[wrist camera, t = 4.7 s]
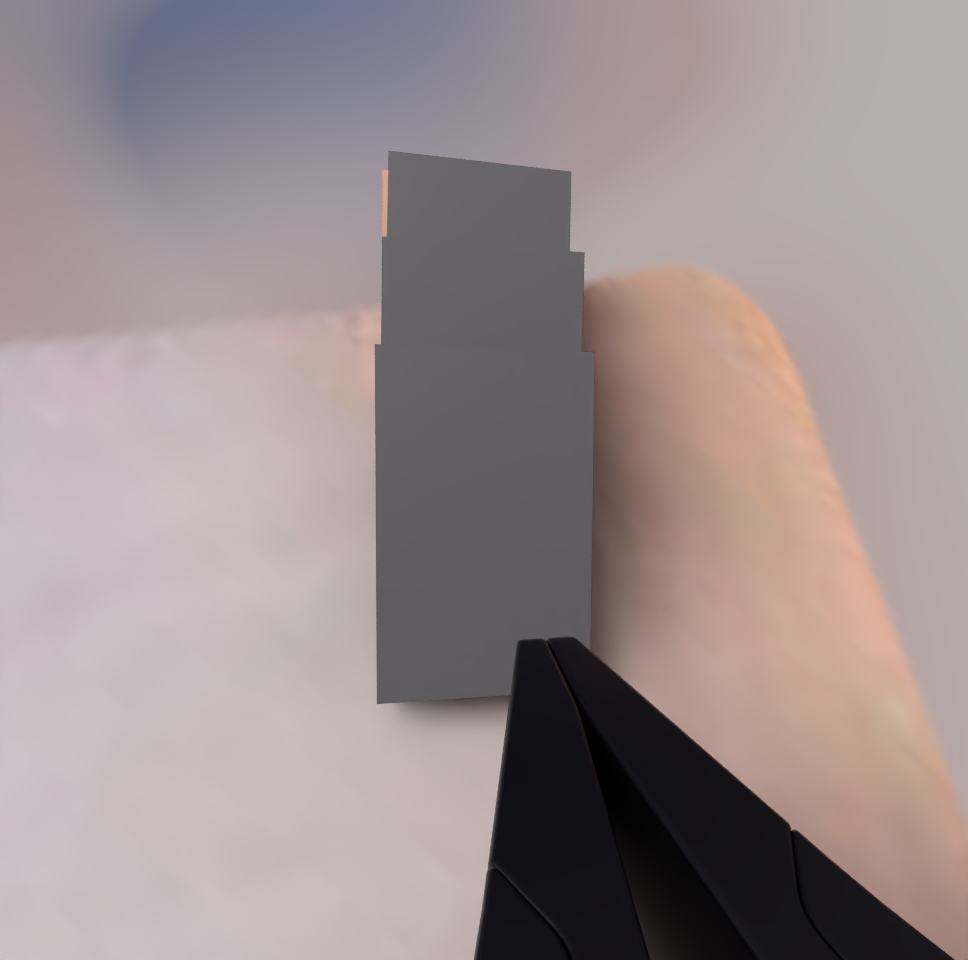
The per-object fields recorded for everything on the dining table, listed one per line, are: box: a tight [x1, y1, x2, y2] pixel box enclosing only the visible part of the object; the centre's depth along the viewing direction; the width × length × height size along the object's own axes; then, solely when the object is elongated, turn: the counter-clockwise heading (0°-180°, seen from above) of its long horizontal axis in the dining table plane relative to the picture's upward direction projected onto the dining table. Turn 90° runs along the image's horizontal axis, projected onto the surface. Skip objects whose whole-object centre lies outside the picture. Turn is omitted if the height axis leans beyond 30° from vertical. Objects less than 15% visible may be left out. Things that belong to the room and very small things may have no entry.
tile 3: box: [387, 151, 571, 251], centre depth 15 cm, size 1×5×8 cm
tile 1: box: [375, 344, 595, 704], centre depth 13 cm, size 1×5×8 cm
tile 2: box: [381, 236, 584, 352], centre depth 14 cm, size 1×5×8 cm
